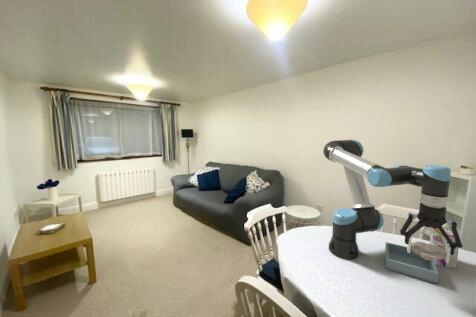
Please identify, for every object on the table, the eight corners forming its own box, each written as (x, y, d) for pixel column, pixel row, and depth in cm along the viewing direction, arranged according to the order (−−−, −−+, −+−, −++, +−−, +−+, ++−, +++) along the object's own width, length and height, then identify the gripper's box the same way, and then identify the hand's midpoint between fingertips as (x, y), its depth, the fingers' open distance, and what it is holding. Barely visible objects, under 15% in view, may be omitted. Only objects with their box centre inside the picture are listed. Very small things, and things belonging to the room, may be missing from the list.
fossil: (439, 260, 74) (411, 239, 82) (429, 270, 78) (403, 248, 85) (452, 253, 77) (423, 233, 85) (442, 262, 81) (415, 242, 88)
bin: (385, 268, 96) (386, 259, 95) (385, 250, 110) (385, 242, 110) (437, 284, 85) (438, 273, 85) (429, 261, 100) (430, 252, 99)
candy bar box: (427, 253, 106) (430, 225, 104) (438, 254, 105) (441, 225, 103) (444, 267, 95) (448, 235, 93) (457, 268, 94) (460, 236, 92)
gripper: (396, 202, 82) (391, 251, 85) (481, 214, 68) (472, 272, 71) (395, 196, 88) (390, 242, 91) (473, 207, 74) (465, 260, 77)
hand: (426, 255), depth 81 cm, fingers closed on fossil, 11 cm apart
